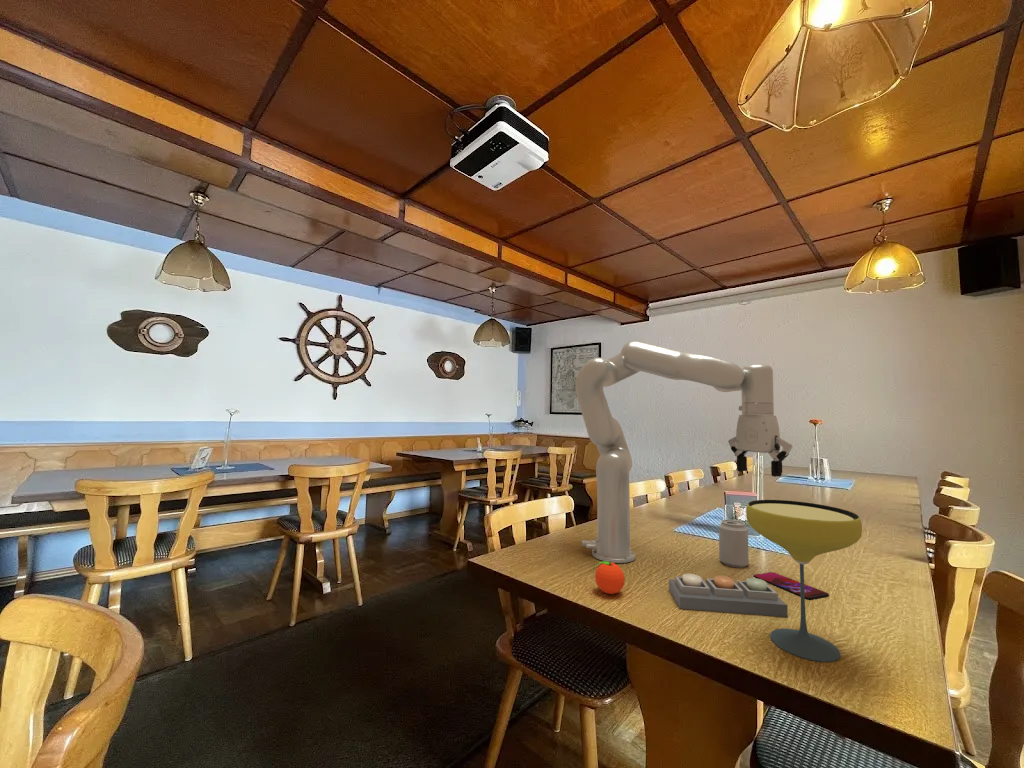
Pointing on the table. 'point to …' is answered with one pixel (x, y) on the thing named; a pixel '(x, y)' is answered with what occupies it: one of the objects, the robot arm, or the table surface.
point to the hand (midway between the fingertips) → (758, 473)
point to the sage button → (756, 584)
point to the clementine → (609, 577)
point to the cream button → (692, 580)
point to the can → (733, 543)
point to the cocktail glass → (804, 556)
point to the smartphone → (791, 586)
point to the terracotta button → (724, 582)
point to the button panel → (727, 598)
